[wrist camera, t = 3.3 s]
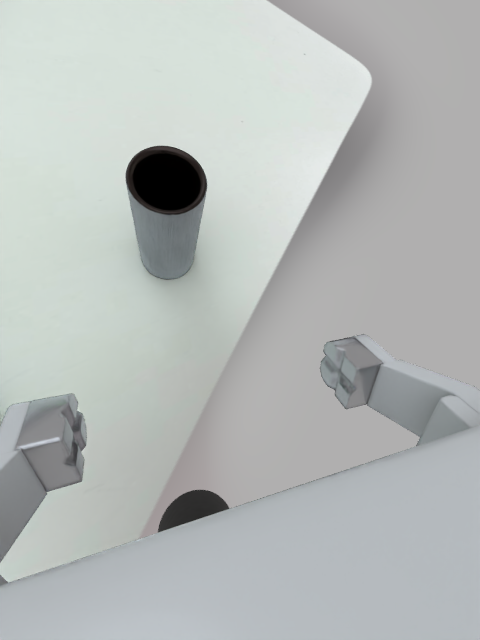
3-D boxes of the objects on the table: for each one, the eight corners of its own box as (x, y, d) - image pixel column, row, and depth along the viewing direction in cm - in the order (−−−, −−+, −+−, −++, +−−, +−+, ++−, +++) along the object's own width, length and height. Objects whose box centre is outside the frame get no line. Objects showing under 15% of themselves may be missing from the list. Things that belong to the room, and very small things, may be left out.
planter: (198, 241, 28) (215, 160, 18) (185, 286, 27) (196, 225, 17) (149, 225, 27) (139, 133, 18) (133, 271, 26) (113, 198, 16)
